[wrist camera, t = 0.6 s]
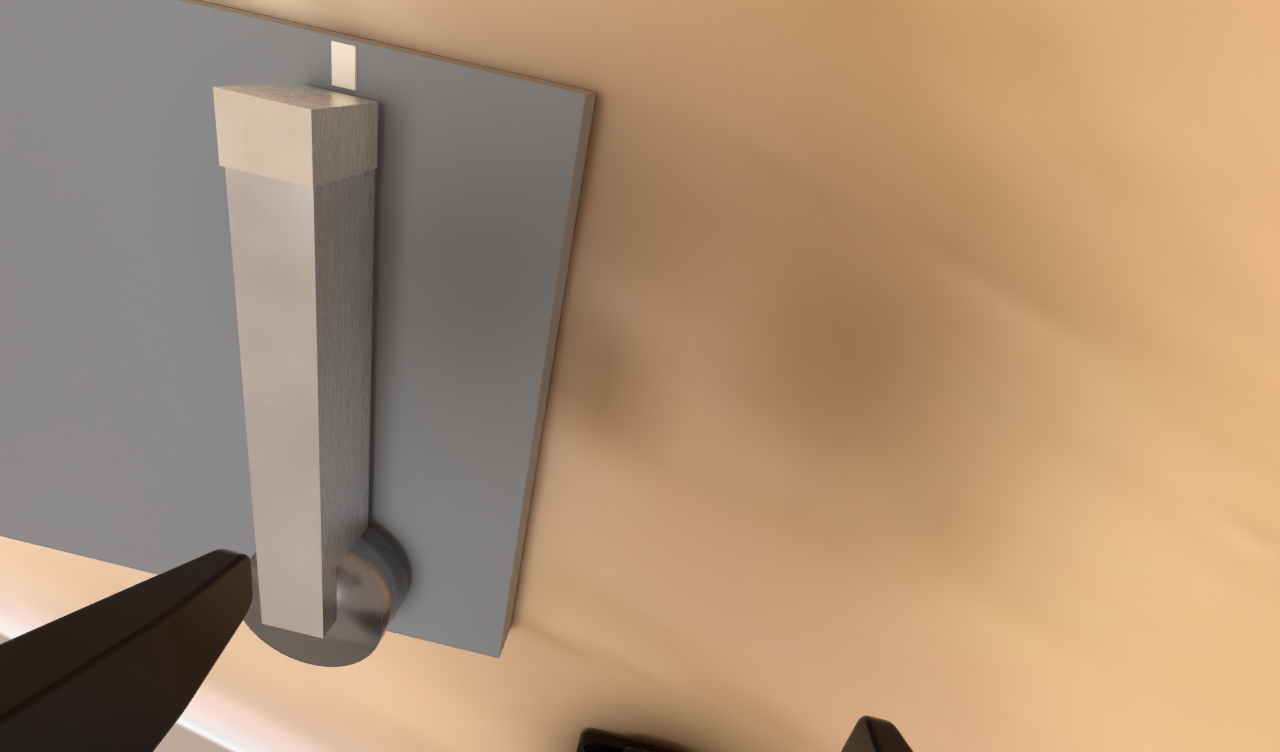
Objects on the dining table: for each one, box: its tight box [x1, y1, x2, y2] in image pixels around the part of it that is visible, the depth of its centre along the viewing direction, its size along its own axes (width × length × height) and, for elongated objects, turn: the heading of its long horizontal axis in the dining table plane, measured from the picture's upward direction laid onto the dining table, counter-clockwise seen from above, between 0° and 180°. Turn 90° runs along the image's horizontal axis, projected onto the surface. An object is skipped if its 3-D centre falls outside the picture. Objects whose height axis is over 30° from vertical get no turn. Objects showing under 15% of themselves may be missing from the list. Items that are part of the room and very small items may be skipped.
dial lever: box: [213, 83, 408, 667], centre depth 19 cm, size 18×5×3 cm, turn 168°
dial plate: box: [0, 0, 596, 658], centre depth 21 cm, size 20×20×2 cm
